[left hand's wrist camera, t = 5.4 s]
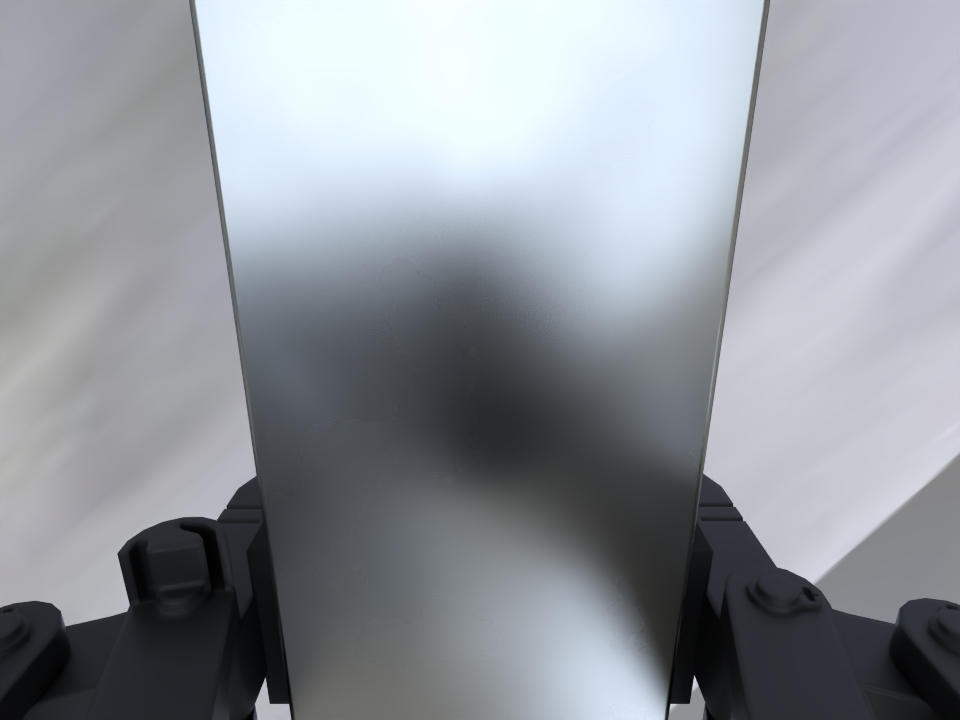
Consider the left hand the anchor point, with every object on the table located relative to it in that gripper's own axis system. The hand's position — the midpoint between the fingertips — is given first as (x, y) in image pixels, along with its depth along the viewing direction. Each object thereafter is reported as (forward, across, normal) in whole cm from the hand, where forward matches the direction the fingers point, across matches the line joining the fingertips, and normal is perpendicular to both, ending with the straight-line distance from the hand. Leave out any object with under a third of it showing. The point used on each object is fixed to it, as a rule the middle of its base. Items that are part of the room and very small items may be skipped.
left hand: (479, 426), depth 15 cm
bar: (+1, 0, -14) cm, 14 cm away
